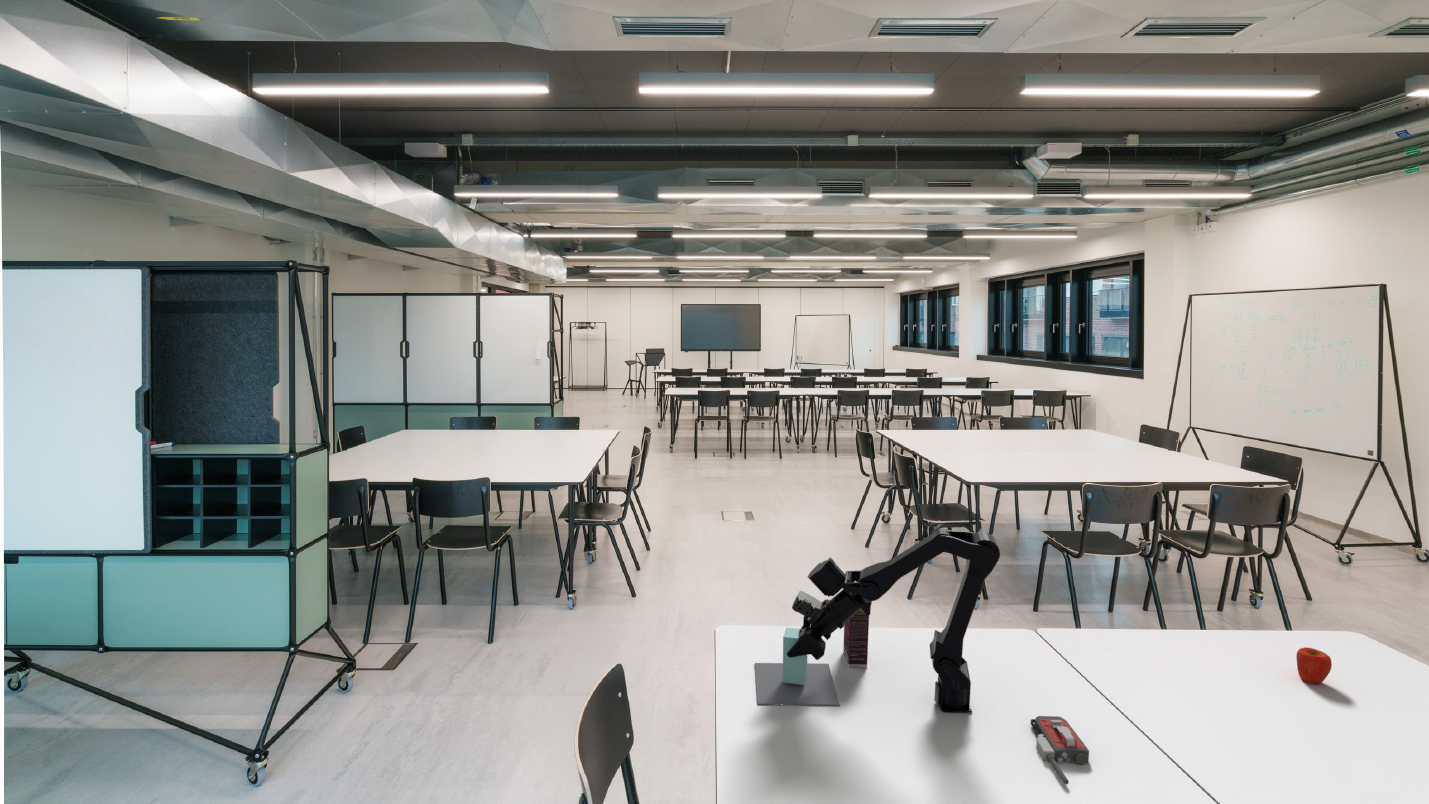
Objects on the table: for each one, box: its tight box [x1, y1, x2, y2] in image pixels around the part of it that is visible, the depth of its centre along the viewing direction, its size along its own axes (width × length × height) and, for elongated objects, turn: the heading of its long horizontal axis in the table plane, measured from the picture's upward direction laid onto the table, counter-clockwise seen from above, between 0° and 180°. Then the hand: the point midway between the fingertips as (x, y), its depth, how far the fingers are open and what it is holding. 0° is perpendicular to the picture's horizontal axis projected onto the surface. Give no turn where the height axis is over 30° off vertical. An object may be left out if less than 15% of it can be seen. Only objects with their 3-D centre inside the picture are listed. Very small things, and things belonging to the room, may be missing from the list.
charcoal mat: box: [754, 662, 841, 707], centre depth 167 cm, size 18×18×1 cm
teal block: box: [782, 626, 808, 685], centre depth 166 cm, size 5×5×11 cm
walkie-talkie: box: [1030, 715, 1090, 785], centre depth 140 cm, size 9×4×20 cm
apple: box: [1295, 647, 1333, 685], centre depth 168 cm, size 6×6×8 cm
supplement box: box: [842, 609, 870, 668], centre depth 177 cm, size 9×5×16 cm, turn 179°
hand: (789, 650), depth 166 cm, fingers closed on teal block, 5 cm apart
